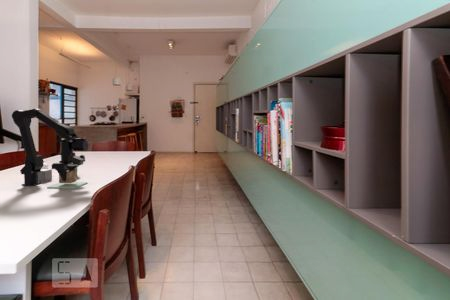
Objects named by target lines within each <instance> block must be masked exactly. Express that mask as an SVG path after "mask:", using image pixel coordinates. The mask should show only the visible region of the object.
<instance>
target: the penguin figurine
mask: <svg viewBox="0 0 450 300" xmlns="http://www.w3.org/2000/svg"><path fill="white" fill-rule="evenodd" d="M41 169H49V165H48V163H47V162H45V161H44V163H43V167H42V168H41Z"/></svg>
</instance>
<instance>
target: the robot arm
mask: <svg viewBox="0 0 450 300" xmlns="http://www.w3.org/2000/svg"><path fill="white" fill-rule="evenodd" d="M11 118H12V120H13V123H14V124H15V125H16V126H17V128H18V129H19V133H20V137H21V140H22V144H23V148H24V152H25V158H24V166H23V167H22V168H21V169H20V170H19V171H20V175H23V177H24V180H23V181H24V183H22V184H21V186H29V187H30V186H32V187H33V186H37V185H40V184H42V181H38V172H40V171H41V168H42V167H43V163H44V162H45V161H44V157H43V155H42V154H41V155H39V153H38V152H37V148H36V145H35V141H34V138H33V134H32V130H31V123H32V119H35V118H36V119H38V120H39V121H40V122H42V123H43V124H45V125H47V126H48V127H50V128H51V129H53V131H54V132H55V134H56V135H58V136H59V138H58V139H57V140H56V143H60V152H59V153H58V155H59V156H60V160H59V161H58V162H54V163H52V164H51V169H52V170H55V171H57V173H58V176H59V175H60V176H61V178H62V180H63V181H66V173H67V170H75V169H76V168H77V169H78V167H80V166H81V165H82V166H83V165H84V162H86V157H85V155H83V154H81V155H76V152H87V151H88V150H89V142H88V141H87V138H86V137H84V138H82V137H81V138H80V137H79V136H78V135H77V133H76V132H75V128H73V127H72V126H70V125H68V124H65V123H61V122H60V121H58V120H57V119H55V118H53V117H52V116H51V115H49V114H47V113H46V112H44V111H43V110H42V109H40V108H32V109H28V110H26V109H25V110H14V111H13V112H12V113H11Z"/></svg>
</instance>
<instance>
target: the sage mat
mask: <svg viewBox="0 0 450 300" xmlns="http://www.w3.org/2000/svg"><path fill="white" fill-rule="evenodd" d="M86 184H87V185H88V182H87V181H85V182H83V181H76V182H73V183H59V182H58V183H55V184H52V185H48V186H46V188H47V189H59V190H60V189H61V190H62V189H63V190H64V189H66V190H75V189H78V188H80V187H82V186H85V185H86Z"/></svg>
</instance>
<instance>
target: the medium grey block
mask: <svg viewBox="0 0 450 300" xmlns="http://www.w3.org/2000/svg"><path fill="white" fill-rule="evenodd" d="M52 180H53V169H52V168H48V169H41V171H40V172H38V182H48V181H52Z"/></svg>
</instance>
